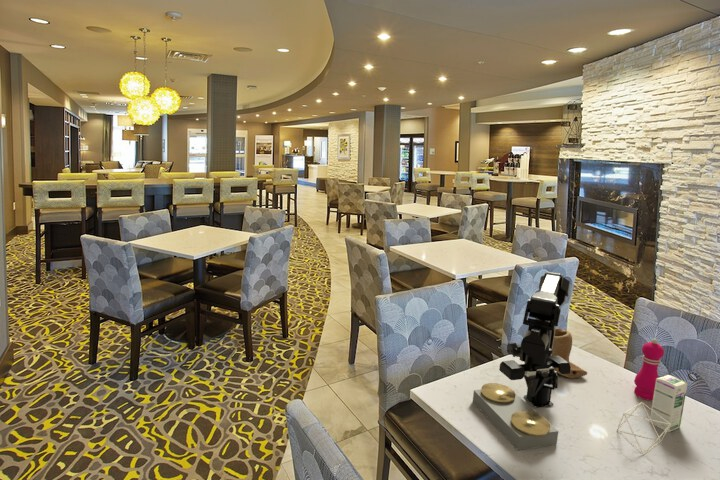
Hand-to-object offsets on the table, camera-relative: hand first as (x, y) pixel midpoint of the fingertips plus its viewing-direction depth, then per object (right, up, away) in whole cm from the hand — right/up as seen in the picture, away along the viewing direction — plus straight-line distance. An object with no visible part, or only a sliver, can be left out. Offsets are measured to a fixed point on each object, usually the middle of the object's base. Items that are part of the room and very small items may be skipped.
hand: (531, 395), depth 126 cm
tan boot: (+25, -5, +41) cm, 49 cm away
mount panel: (-3, -10, +8) cm, 13 cm away
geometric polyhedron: (+30, -13, +1) cm, 33 cm away
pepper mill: (+47, -9, +26) cm, 55 cm away
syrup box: (+42, -12, +9) cm, 45 cm away
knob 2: (-1, -11, 0) cm, 11 cm away
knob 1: (-5, -8, +15) cm, 18 cm away
